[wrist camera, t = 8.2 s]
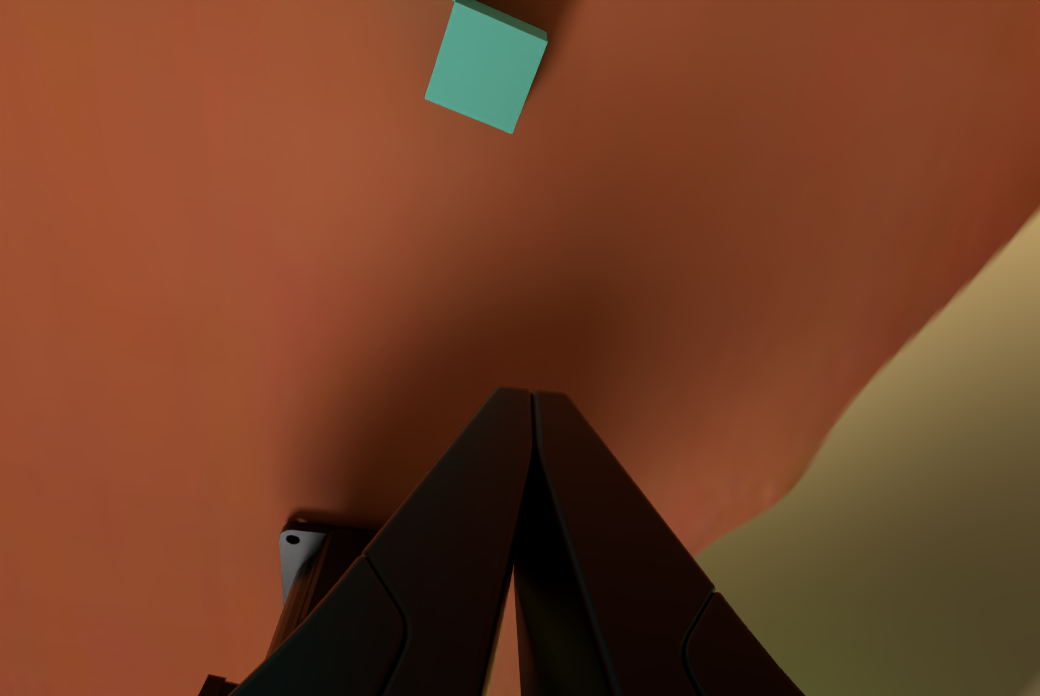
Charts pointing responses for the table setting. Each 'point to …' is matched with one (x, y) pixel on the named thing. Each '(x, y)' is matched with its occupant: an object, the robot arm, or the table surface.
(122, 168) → the table surface
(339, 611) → the robot arm
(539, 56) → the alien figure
